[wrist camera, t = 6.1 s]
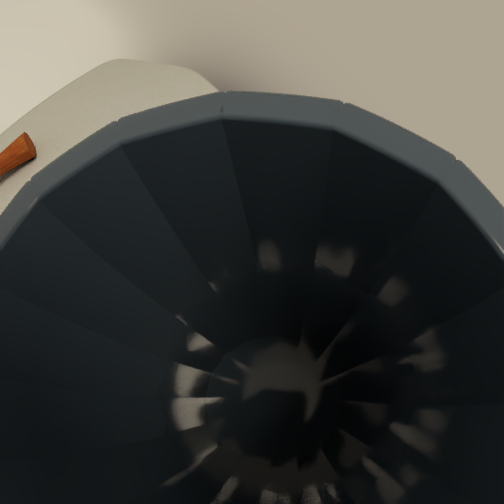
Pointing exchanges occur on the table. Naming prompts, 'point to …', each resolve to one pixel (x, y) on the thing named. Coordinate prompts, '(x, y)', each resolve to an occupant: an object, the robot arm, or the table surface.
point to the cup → (252, 314)
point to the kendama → (17, 153)
